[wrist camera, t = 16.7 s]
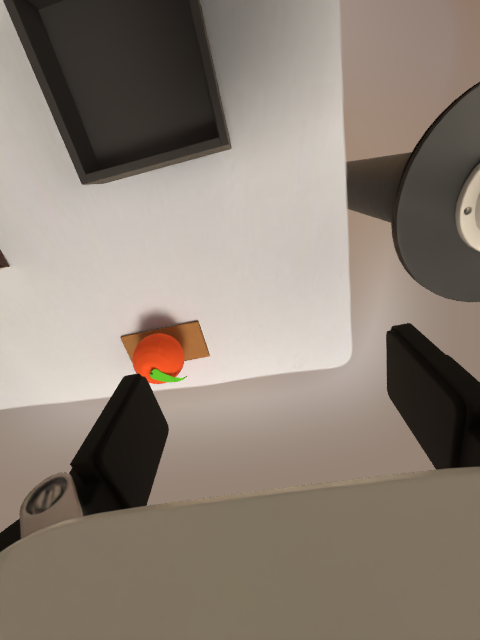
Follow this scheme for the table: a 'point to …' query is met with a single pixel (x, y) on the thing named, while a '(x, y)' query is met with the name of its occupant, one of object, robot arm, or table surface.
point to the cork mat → (183, 333)
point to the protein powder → (3, 261)
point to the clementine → (159, 358)
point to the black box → (124, 81)
